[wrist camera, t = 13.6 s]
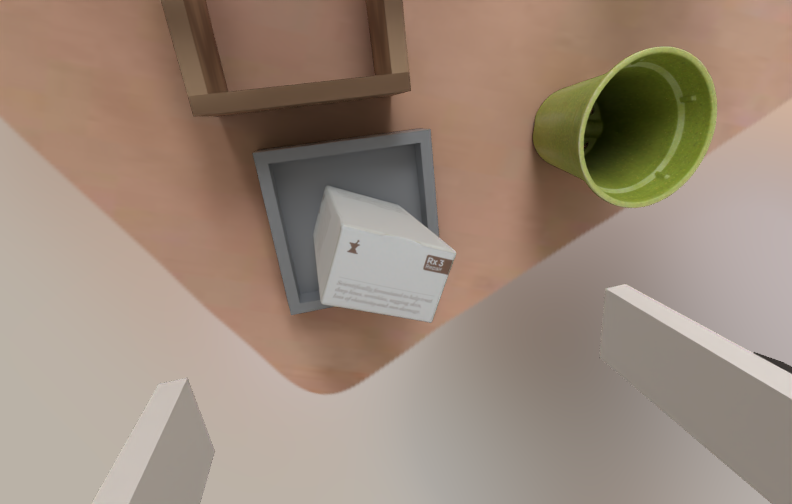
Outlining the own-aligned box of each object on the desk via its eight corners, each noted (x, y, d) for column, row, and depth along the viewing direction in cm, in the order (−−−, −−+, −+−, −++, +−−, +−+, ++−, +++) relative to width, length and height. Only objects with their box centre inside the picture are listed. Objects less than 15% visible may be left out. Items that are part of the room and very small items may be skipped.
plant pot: (554, 208, 34) (630, 237, 26) (488, 129, 30) (551, 134, 22) (635, 127, 33) (739, 131, 25) (576, 36, 30) (675, 6, 21)
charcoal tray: (257, 150, 28) (252, 153, 25) (421, 128, 29) (430, 129, 27) (292, 300, 32) (291, 315, 29) (433, 273, 34) (442, 285, 31)
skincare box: (311, 237, 30) (311, 311, 18) (326, 180, 28) (335, 221, 17) (388, 254, 31) (431, 332, 20) (404, 201, 30) (460, 252, 19)
